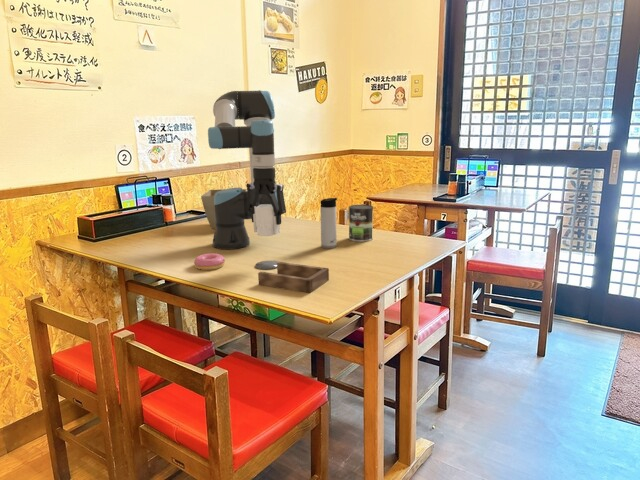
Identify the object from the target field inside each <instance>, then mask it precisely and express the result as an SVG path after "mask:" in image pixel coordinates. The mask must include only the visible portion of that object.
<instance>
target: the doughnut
mask: <svg viewBox="0 0 640 480" xmlns="http://www.w3.org/2000/svg"><path fill="white" fill-rule="evenodd" d="M225 262H226V258H225V257H224V256H223V255H222V254H219V253H214V252H213V253H211V252H210V253H203V254H200V255H197V256H196V257H195V258H194V261H193V264H194V267H195V268H197V269H198V270H200V269H201V271H213V270H217V269H221V268H222V267H223V266H224V265H225Z"/></svg>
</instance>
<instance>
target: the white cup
mask: <svg viewBox="0 0 640 480" xmlns="http://www.w3.org/2000/svg"><path fill="white" fill-rule="evenodd" d="M254 210H255V220H256V227H257V232H256V233H257V234H256V235H257V236H260V237H273V236H276V235H277V234H274V223H273V216H274V215H275V213H274V210H273V207H272V205H271V204H262V205H259V206H257V207H255V206H254Z"/></svg>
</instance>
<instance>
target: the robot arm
mask: <svg viewBox="0 0 640 480" xmlns="http://www.w3.org/2000/svg"><path fill="white" fill-rule="evenodd" d="M212 112H213V115H214V126H211V127H208V129H207V138H208V146H209V148H210V149H212V150H217V149H218V150H228V149H231V150H232V149H248V150H249V169H250V182H249V183H246V189H247V191H243V189H244V188H242V187H231V188H226V189H224V190H221V191H218V192H216V193H215V195H214V205H215V219H216V229H214V230H215V231H214V234H213V239H212V247H214V248H216V249H218V250H219V249H220V250H236V249H241V248H245V247H248V246H249V245H250V237H249V235H248V232H247V229H246V226H245V220H251V222H252V223H253V232H254V233H257V227H256V220H255V210H254V206H255V207H257V206H259V205H262V204H271V205H272V207H273V210H274V213H275V215H274V216H273V223H274V234H276V235H278V234H280V232H281V228H280V227H281V224H282V215H284V214H286V213H287V209H286V201H285V195H284V187H285V186H284V184H279V183H277V182H276V168H275V166H276V159H275V158H276V157H275V129H274V122H273V121H272V120H274V119H275V118H276V117H275V116H276V114H275V105H274V99H273V96H272V94H271V93H270V92H269V91H268V90H261V89H258V90H231V91H227V92H226V93H224V94H222V95H220V96H219V97H218V98H217V99H216V100H215V102H214V104H213V107H212ZM236 120H238V121H239V120H242V121H243V124H244V126H243V125H242V126H241V125H240V126H236Z"/></svg>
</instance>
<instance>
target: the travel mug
mask: <svg viewBox="0 0 640 480" xmlns="http://www.w3.org/2000/svg"><path fill="white" fill-rule="evenodd" d="M337 201H338V198H337V197H330V198H329V197H328V198H323V199H321V200H320V246H321V248H323V249H326V250H329V249H336V248H337V246H338V245H337V240H338V239H337Z"/></svg>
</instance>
